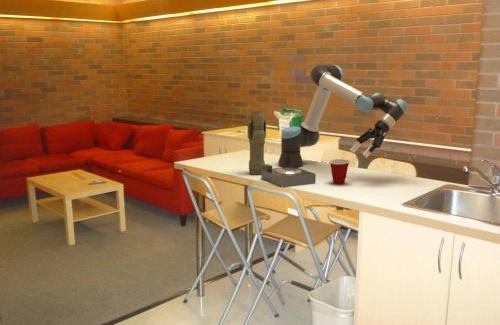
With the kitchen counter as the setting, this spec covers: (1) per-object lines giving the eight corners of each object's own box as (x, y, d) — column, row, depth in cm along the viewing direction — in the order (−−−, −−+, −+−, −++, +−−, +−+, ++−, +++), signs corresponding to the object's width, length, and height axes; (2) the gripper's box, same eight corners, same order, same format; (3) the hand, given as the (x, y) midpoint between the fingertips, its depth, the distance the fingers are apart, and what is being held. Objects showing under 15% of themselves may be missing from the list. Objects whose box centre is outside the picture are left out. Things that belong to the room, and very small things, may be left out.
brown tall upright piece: (243, 173, 275) (243, 111, 269) (258, 170, 283) (259, 110, 277) (254, 176, 269) (254, 112, 262) (269, 173, 277) (270, 111, 270)
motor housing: (261, 178, 263) (261, 164, 261) (292, 175, 272) (293, 161, 270) (282, 187, 244) (282, 171, 242) (315, 183, 253) (315, 168, 251)
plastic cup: (324, 181, 256) (324, 159, 254) (342, 180, 260) (342, 158, 258) (334, 186, 246) (335, 162, 244) (353, 184, 250) (354, 161, 248)
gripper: (402, 132, 244) (374, 162, 243) (375, 126, 268) (350, 154, 266) (394, 121, 242) (366, 152, 240) (367, 117, 265) (342, 145, 264)
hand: (357, 154), depth 253 cm, fingers open, 13 cm apart
